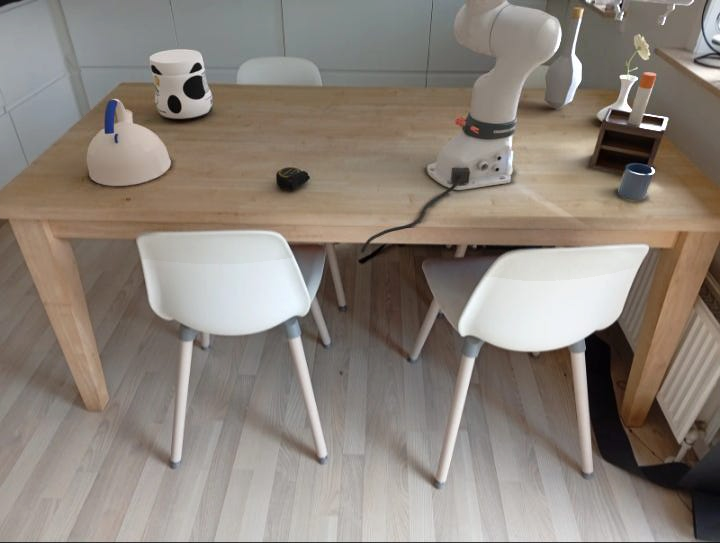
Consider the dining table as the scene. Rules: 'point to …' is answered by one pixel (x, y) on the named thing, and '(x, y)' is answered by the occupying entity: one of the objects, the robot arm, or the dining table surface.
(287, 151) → the dining table surface
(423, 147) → the dining table surface
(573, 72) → the bottle
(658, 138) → the small wooden shelf
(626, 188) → the pen cup
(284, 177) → the tape measure
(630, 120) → the marker
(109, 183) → the kettle
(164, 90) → the milk container
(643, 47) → the flower in vase
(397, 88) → the dining table surface
